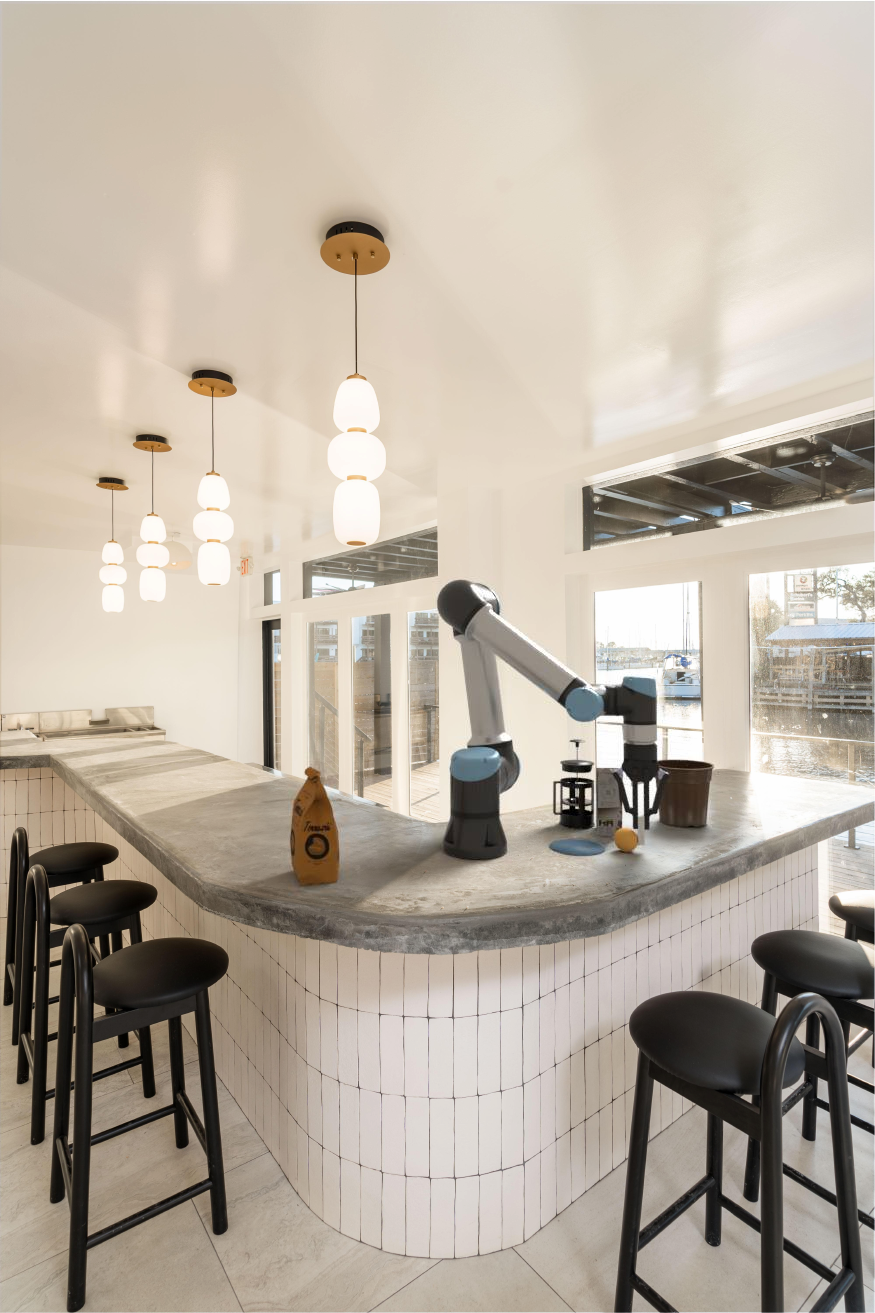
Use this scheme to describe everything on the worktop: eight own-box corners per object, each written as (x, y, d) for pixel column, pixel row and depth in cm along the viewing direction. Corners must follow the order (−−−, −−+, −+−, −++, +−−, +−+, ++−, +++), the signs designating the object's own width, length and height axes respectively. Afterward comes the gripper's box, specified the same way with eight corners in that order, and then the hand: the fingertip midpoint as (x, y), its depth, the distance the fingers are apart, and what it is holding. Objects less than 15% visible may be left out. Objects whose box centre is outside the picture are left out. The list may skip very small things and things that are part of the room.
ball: (631, 859, 153) (609, 846, 155) (631, 852, 159) (610, 840, 160) (642, 839, 152) (621, 826, 154) (642, 833, 158) (621, 820, 159)
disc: (546, 852, 155) (546, 852, 155) (552, 837, 167) (552, 837, 167) (604, 857, 151) (604, 856, 151) (605, 842, 164) (605, 841, 164)
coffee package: (291, 888, 131) (291, 777, 131) (289, 868, 143) (289, 766, 143) (342, 884, 134) (342, 775, 134) (335, 865, 146) (335, 764, 146)
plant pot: (642, 824, 181) (643, 764, 181) (660, 812, 194) (660, 757, 194) (705, 833, 172) (706, 771, 172) (719, 820, 185) (720, 762, 185)
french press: (590, 819, 185) (591, 737, 185) (602, 829, 176) (602, 741, 176) (549, 820, 184) (549, 737, 184) (558, 829, 175) (558, 742, 175)
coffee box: (623, 837, 168) (623, 773, 168) (596, 836, 169) (597, 772, 169) (620, 828, 177) (620, 767, 176) (595, 827, 178) (595, 766, 178)
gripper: (668, 740, 157) (669, 840, 157) (611, 739, 161) (612, 837, 161) (670, 745, 150) (671, 849, 150) (611, 743, 153) (612, 846, 153)
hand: (641, 843), depth 155 cm, fingers closed
